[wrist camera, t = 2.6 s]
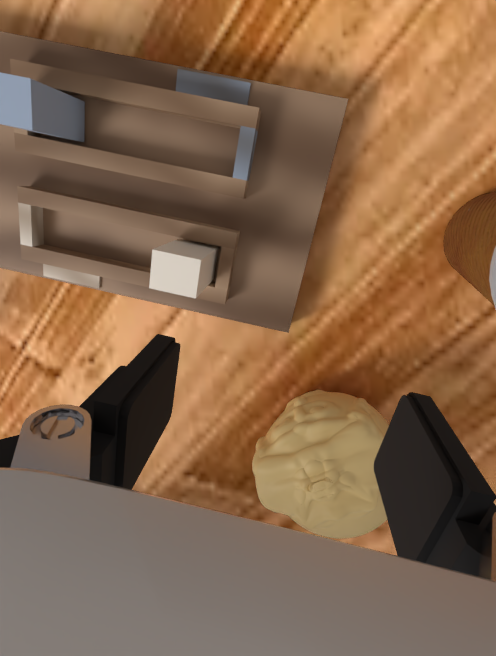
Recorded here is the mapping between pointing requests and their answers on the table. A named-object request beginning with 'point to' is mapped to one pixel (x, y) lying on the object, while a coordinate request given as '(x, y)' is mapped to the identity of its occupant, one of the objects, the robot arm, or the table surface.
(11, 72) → the switch board
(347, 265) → the table surface
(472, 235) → the disposable coffee cup
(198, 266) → the cream tab
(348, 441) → the sculpture
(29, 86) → the slate-blue tab
